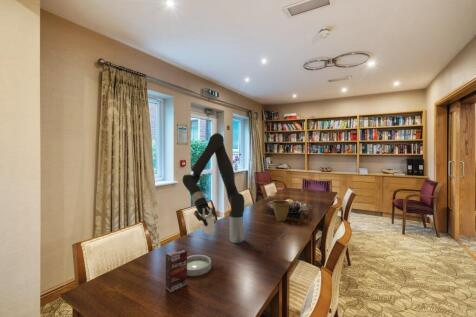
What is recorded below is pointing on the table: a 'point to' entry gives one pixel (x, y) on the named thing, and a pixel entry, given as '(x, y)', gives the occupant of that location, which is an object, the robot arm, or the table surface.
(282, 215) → the plant pot
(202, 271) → the round tray
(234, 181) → the robot arm
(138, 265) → the table surface
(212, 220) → the cream rectangular block
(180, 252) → the supplement box
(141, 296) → the table surface
